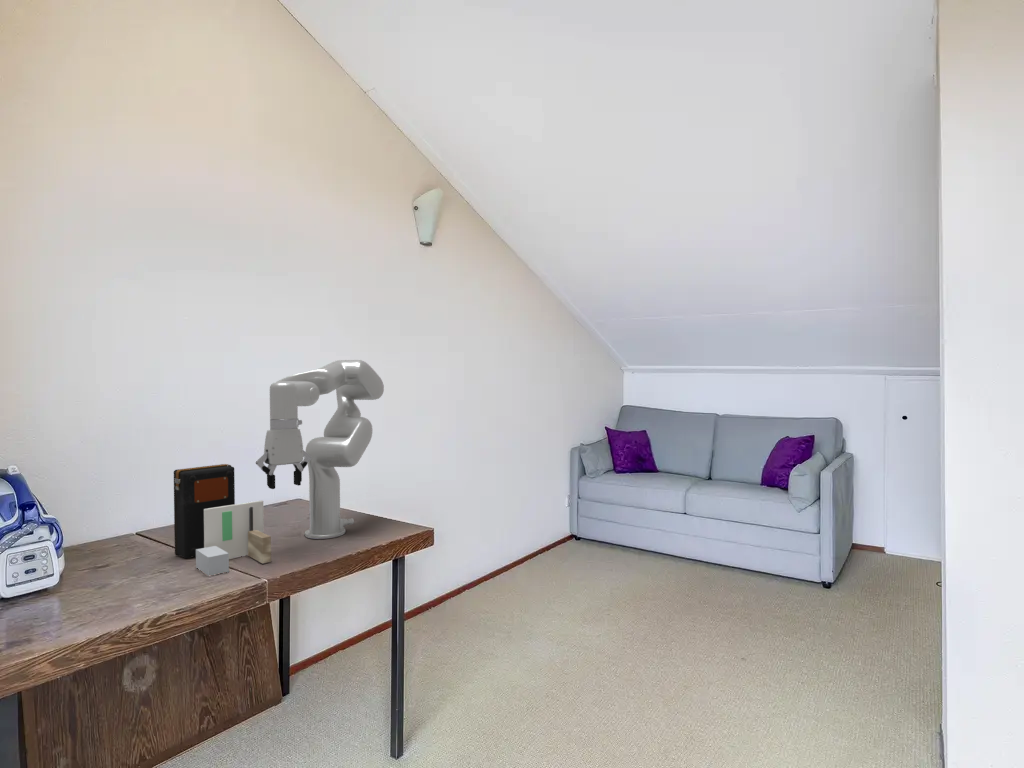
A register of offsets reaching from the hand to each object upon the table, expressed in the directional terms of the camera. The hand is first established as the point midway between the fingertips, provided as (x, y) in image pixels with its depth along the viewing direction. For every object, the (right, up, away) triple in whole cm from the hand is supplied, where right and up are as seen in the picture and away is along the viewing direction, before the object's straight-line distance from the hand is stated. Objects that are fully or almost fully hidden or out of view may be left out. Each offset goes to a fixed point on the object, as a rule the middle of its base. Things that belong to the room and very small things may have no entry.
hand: (284, 486), depth 174 cm
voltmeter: (-24, -20, +3) cm, 32 cm away
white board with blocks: (-10, -20, -8) cm, 24 cm away
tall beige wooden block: (-5, -20, -5) cm, 21 cm away
